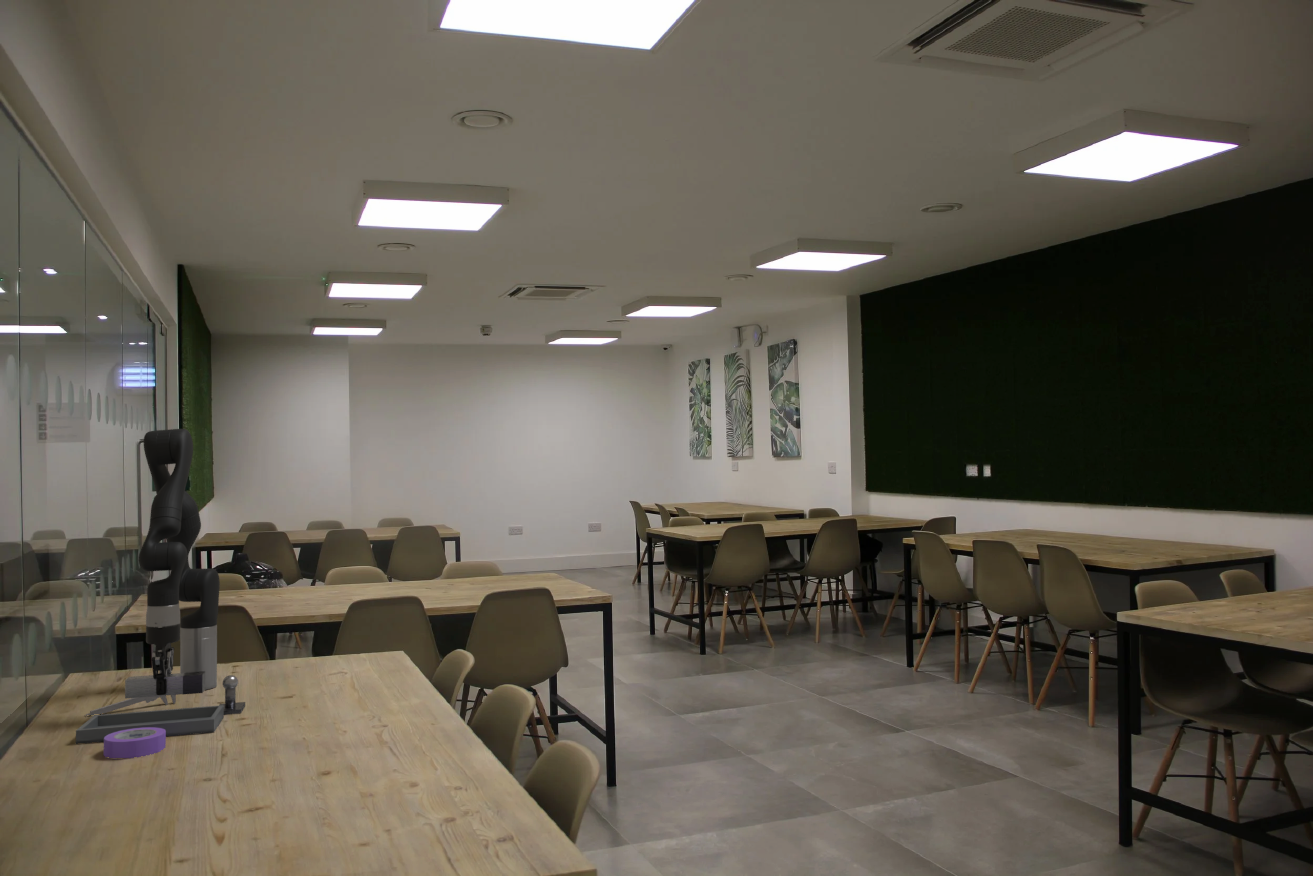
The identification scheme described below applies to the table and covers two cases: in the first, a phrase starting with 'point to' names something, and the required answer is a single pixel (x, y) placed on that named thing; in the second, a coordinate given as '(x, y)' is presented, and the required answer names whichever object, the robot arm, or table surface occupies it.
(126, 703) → the caliper
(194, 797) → the table surface
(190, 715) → the tray
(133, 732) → the masking tape
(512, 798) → the table surface
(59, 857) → the table surface
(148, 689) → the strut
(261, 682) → the table surface
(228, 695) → the ball stud
